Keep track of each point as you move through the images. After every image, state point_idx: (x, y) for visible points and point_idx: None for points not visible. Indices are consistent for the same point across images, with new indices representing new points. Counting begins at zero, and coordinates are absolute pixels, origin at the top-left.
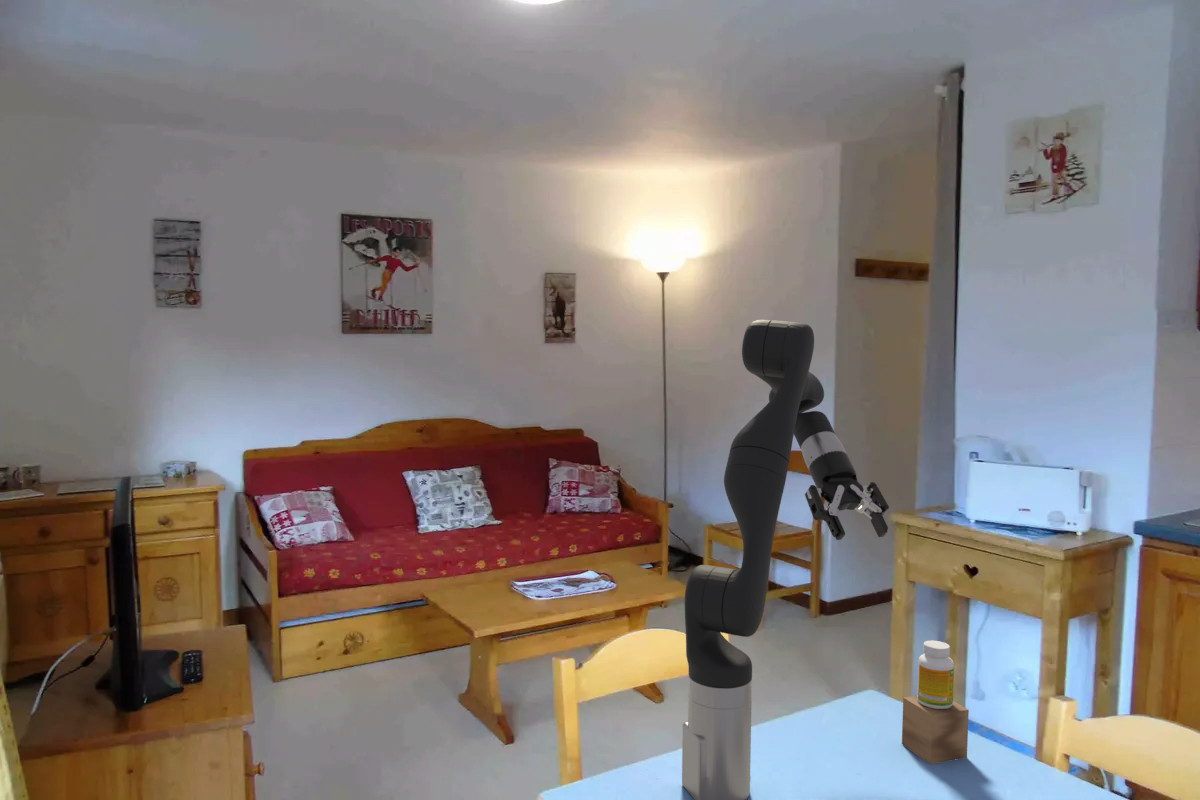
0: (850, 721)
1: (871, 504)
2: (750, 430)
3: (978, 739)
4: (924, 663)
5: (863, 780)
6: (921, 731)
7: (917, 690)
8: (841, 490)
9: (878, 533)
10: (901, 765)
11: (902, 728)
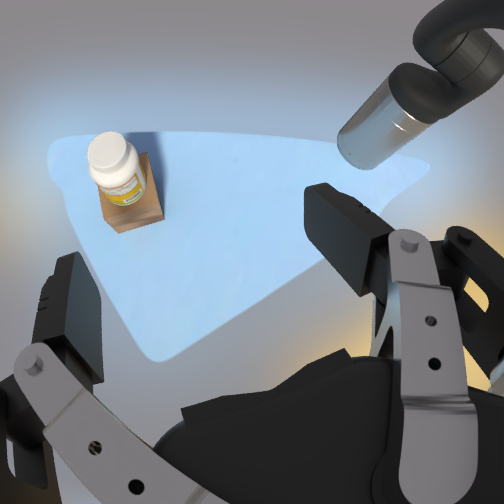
0: (205, 279)
1: (63, 403)
2: None
3: (76, 231)
4: (135, 150)
5: (234, 148)
6: (153, 178)
7: (143, 185)
8: (432, 426)
9: (96, 299)
10: (184, 173)
11: (162, 214)
